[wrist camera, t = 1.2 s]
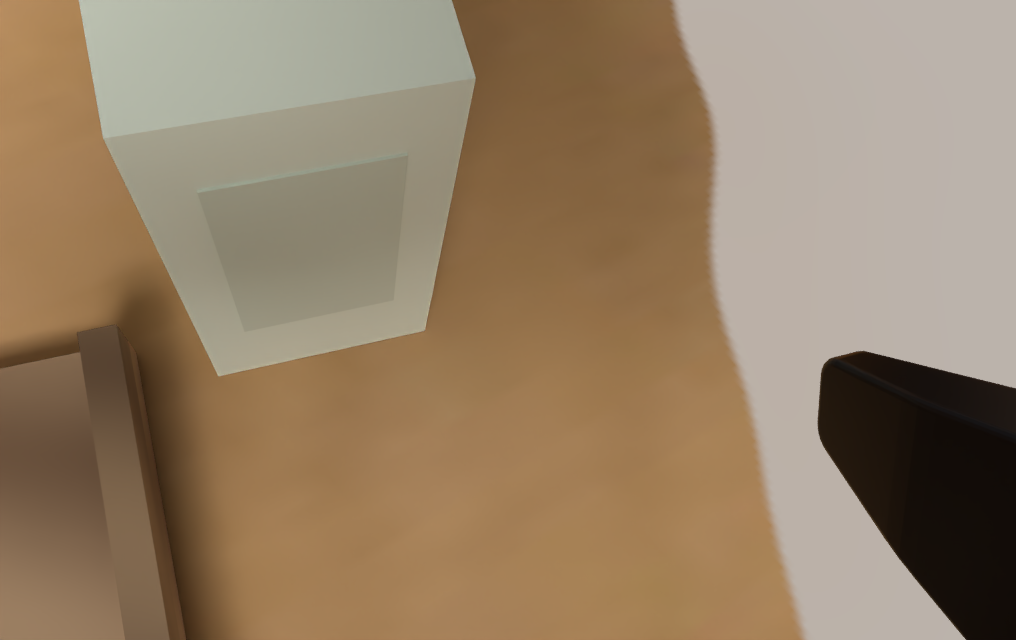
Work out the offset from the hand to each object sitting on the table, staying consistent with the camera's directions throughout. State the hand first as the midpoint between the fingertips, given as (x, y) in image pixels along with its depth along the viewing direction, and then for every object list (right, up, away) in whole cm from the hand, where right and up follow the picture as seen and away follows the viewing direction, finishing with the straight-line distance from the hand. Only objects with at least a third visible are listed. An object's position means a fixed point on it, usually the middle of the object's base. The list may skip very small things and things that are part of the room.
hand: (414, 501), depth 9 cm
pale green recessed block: (-4, +3, +14) cm, 15 cm away
